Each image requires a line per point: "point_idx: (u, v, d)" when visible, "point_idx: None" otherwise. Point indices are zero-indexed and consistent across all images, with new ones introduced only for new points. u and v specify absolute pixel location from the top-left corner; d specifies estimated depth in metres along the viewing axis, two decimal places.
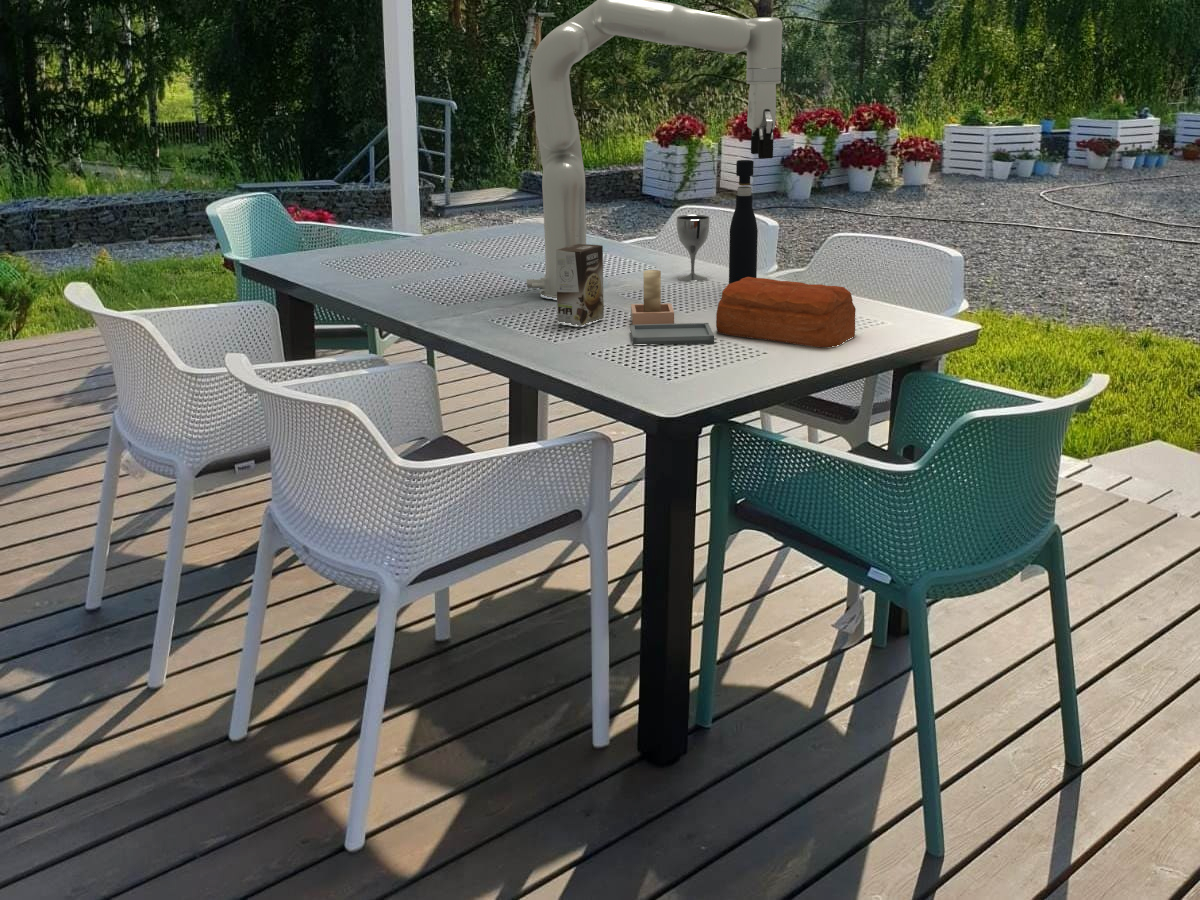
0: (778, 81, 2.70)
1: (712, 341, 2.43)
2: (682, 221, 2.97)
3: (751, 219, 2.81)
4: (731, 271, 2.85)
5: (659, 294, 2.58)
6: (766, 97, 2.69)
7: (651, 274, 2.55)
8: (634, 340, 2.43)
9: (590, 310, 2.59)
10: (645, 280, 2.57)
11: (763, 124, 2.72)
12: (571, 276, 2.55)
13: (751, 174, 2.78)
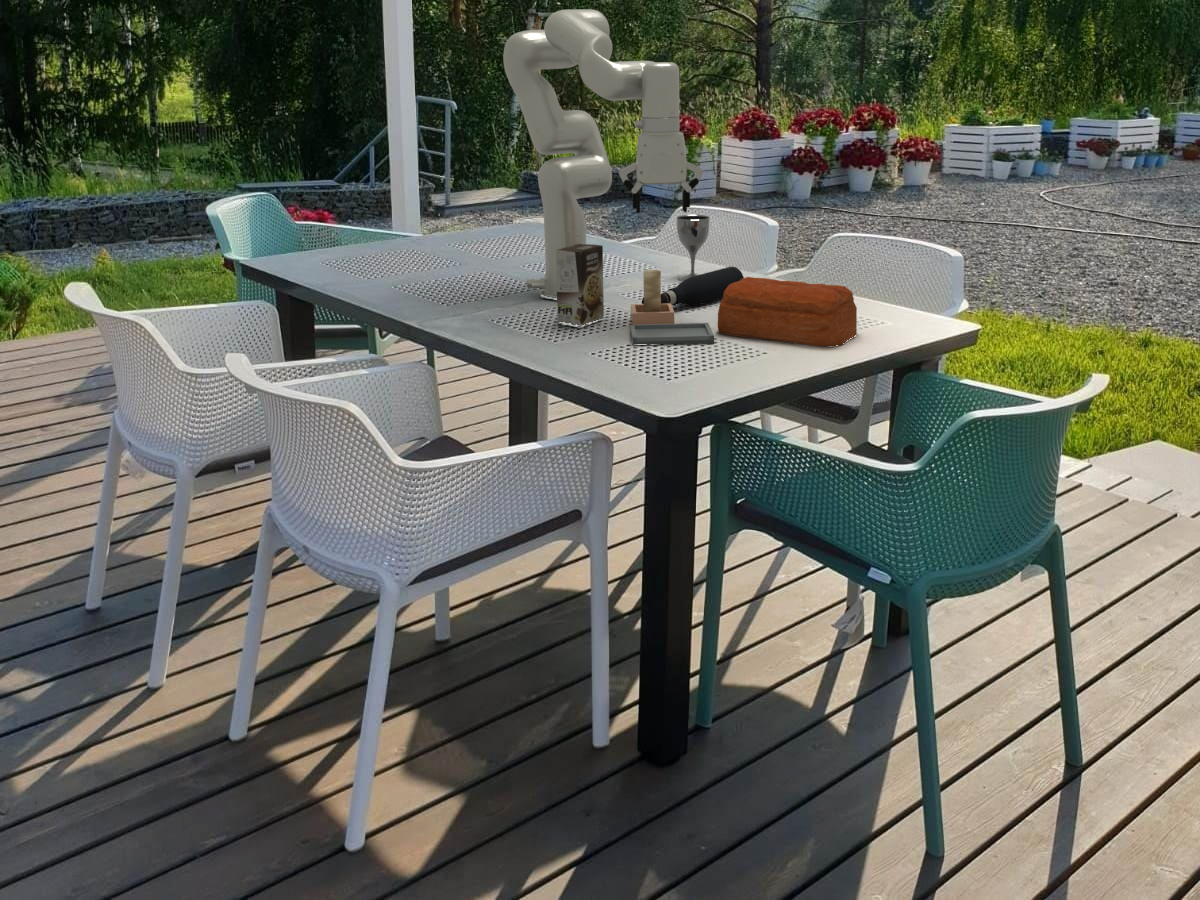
0: None
1: (712, 341, 2.43)
2: (682, 221, 2.97)
3: (695, 296, 2.72)
4: None
5: (659, 294, 2.58)
6: None
7: (651, 274, 2.55)
8: (634, 340, 2.43)
9: (590, 310, 2.59)
10: (645, 280, 2.57)
11: None
12: (571, 276, 2.55)
13: (663, 301, 2.66)
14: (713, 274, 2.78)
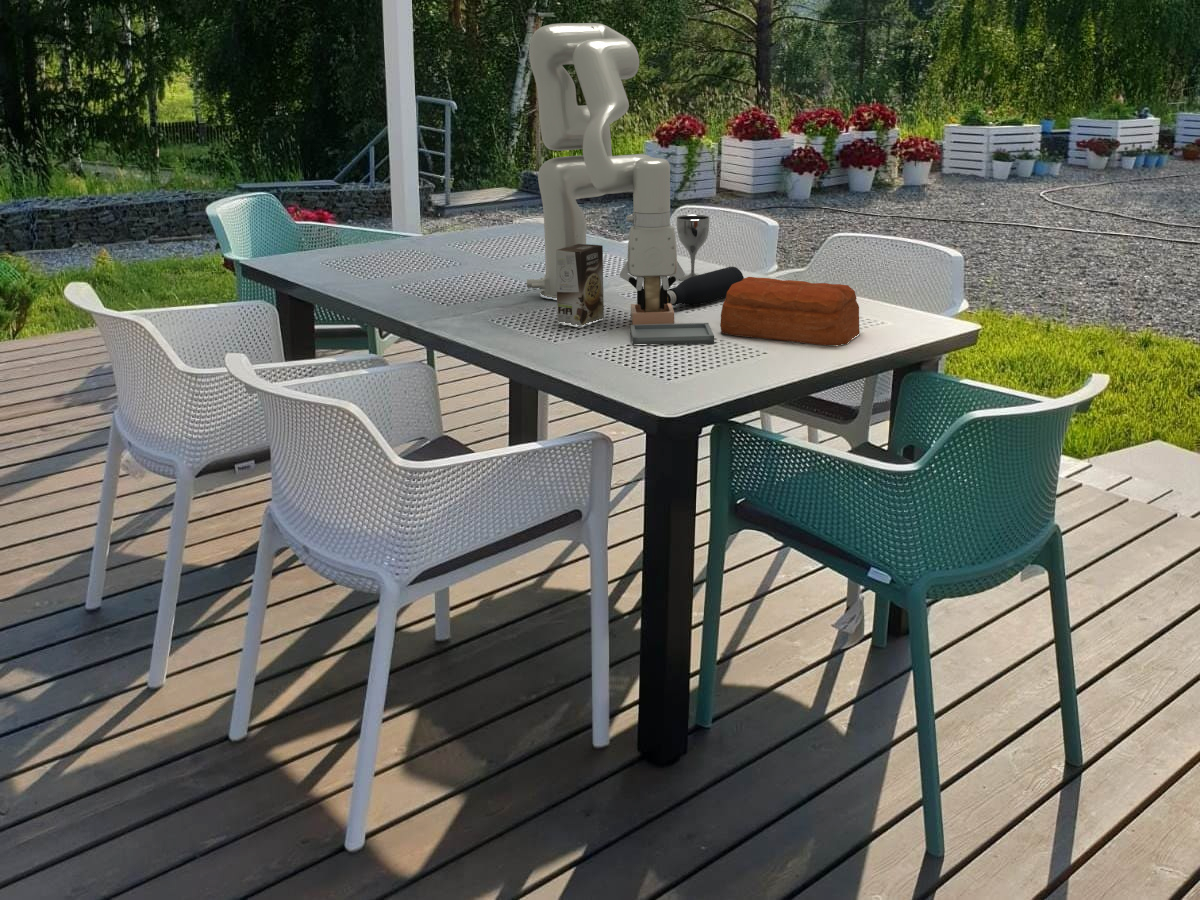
0: None
1: (712, 341, 2.43)
2: (682, 221, 2.97)
3: (695, 296, 2.72)
4: None
5: (659, 294, 2.58)
6: None
7: None
8: (634, 340, 2.43)
9: (590, 310, 2.59)
10: (645, 280, 2.57)
11: None
12: (571, 276, 2.55)
13: None
14: (713, 274, 2.78)
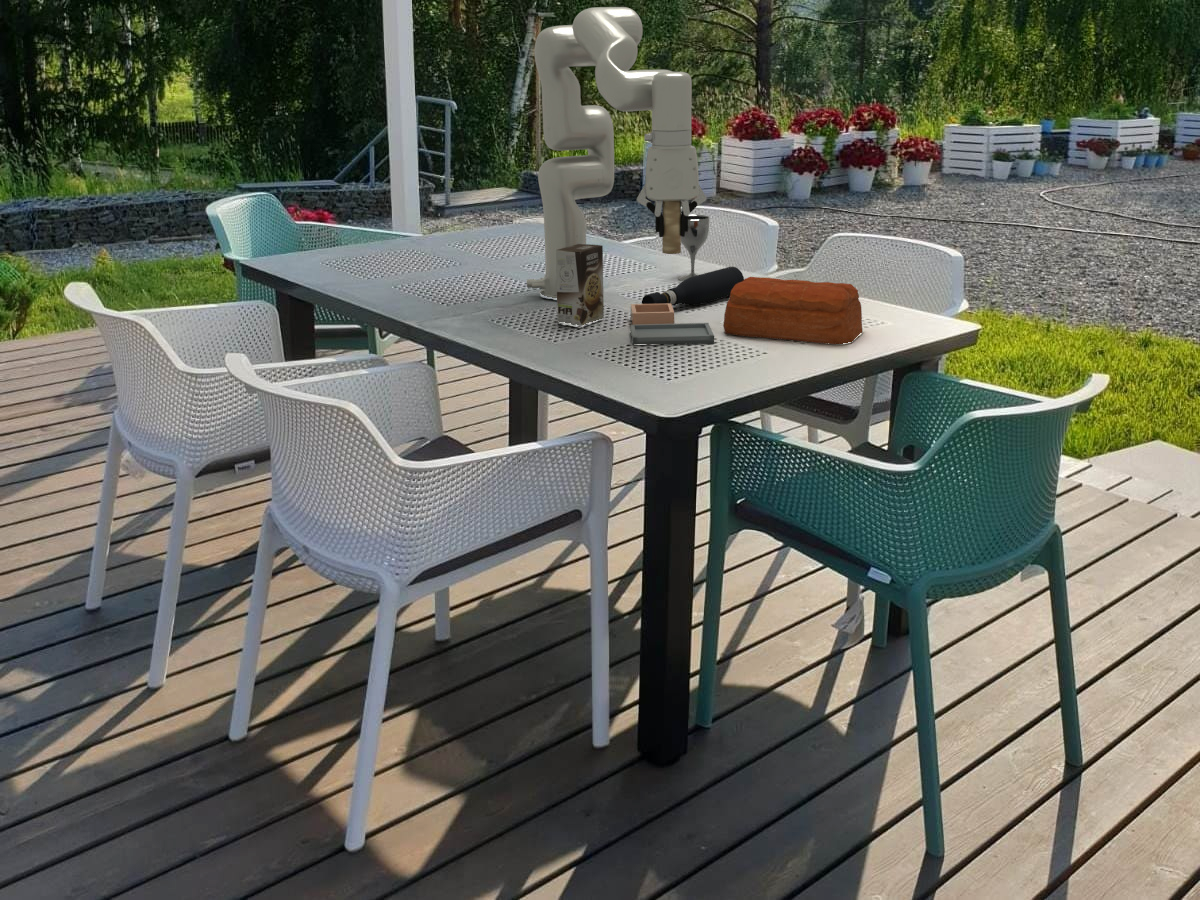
0: None
1: (712, 341, 2.43)
2: None
3: (695, 296, 2.72)
4: None
5: (679, 220, 2.40)
6: None
7: None
8: (634, 340, 2.43)
9: (590, 310, 2.59)
10: (664, 205, 2.39)
11: None
12: (571, 276, 2.55)
13: (663, 301, 2.66)
14: (713, 274, 2.78)
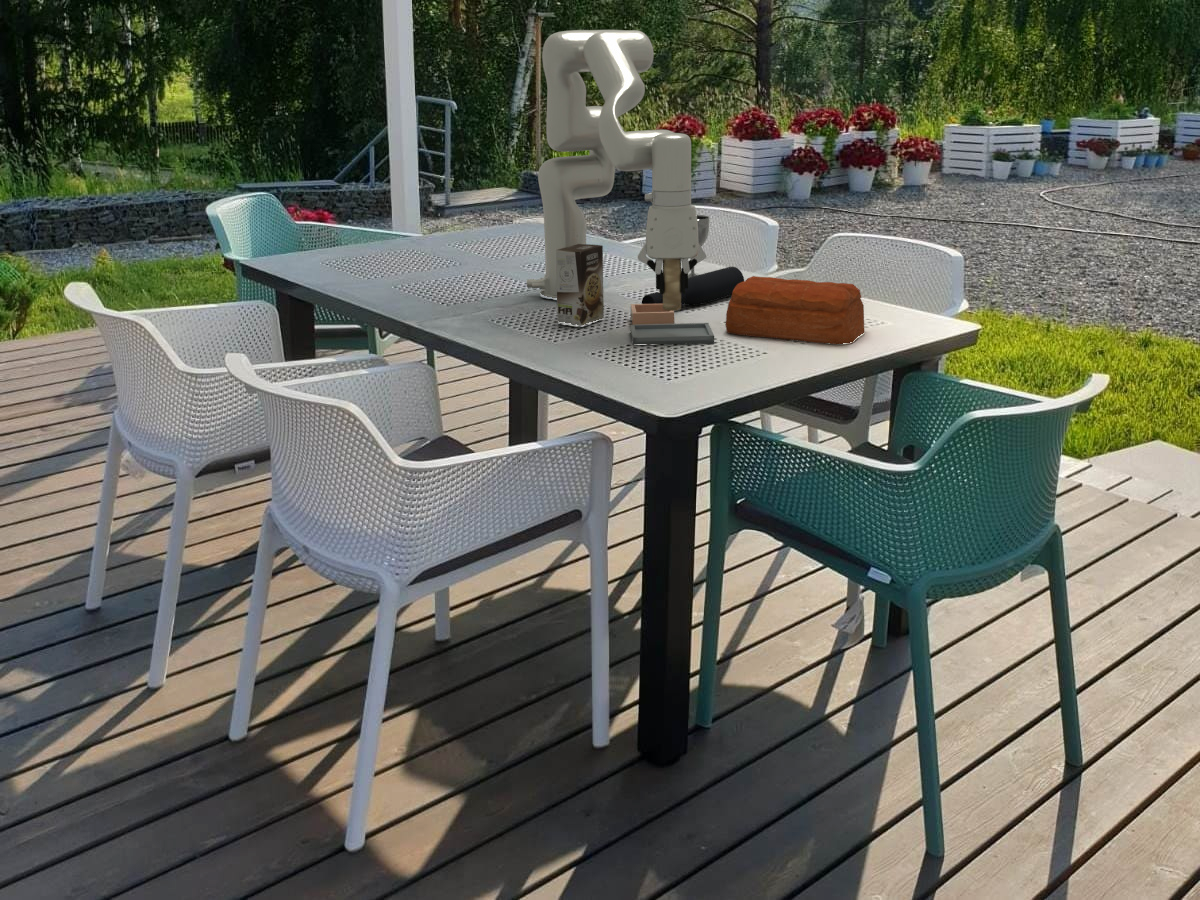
0: None
1: (712, 341, 2.43)
2: None
3: (695, 296, 2.72)
4: None
5: (679, 278, 2.43)
6: None
7: None
8: (634, 340, 2.43)
9: (590, 310, 2.59)
10: (664, 263, 2.42)
11: None
12: (571, 276, 2.55)
13: None
14: (713, 274, 2.78)
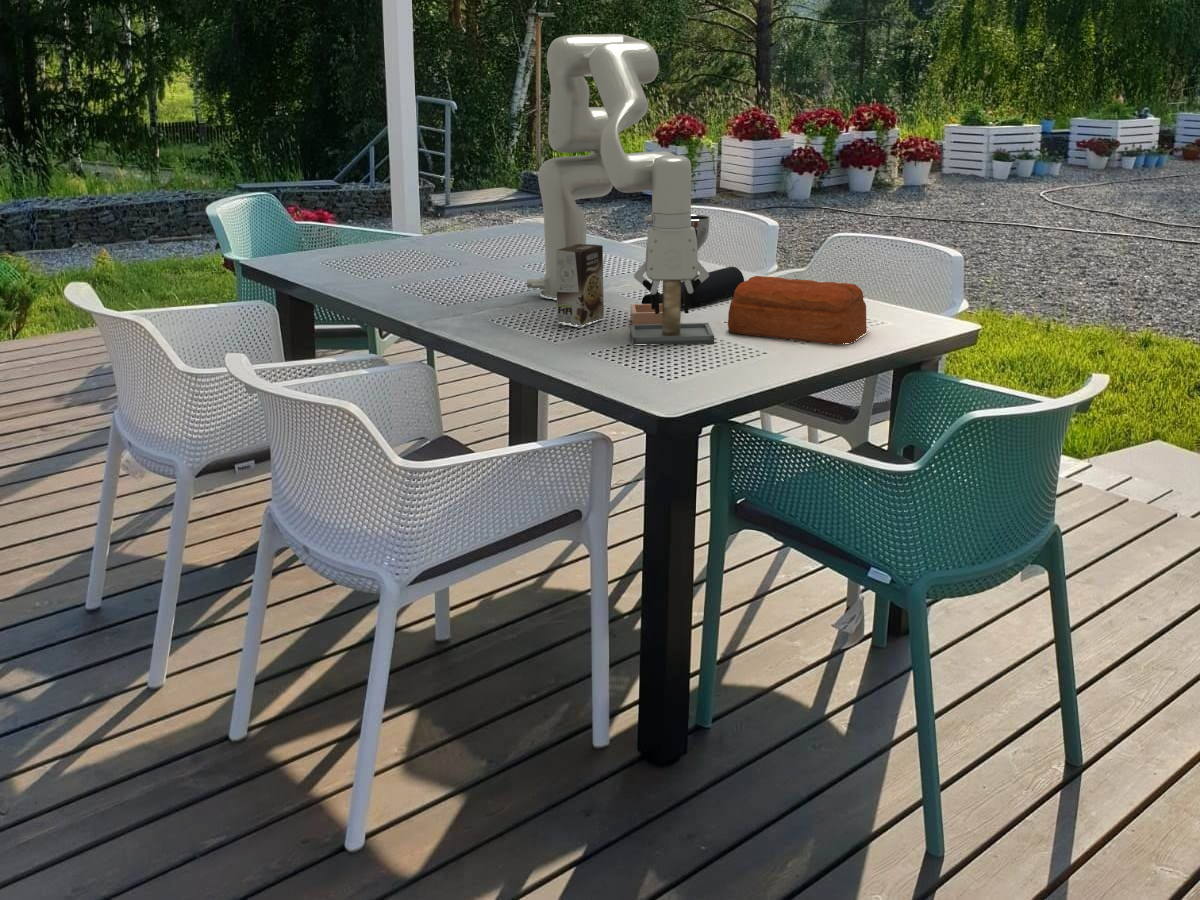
0: None
1: (712, 341, 2.43)
2: None
3: (695, 296, 2.72)
4: None
5: (679, 303, 2.45)
6: None
7: (671, 282, 2.43)
8: (634, 340, 2.43)
9: (590, 310, 2.59)
10: (665, 289, 2.44)
11: None
12: (571, 276, 2.55)
13: None
14: (713, 274, 2.78)
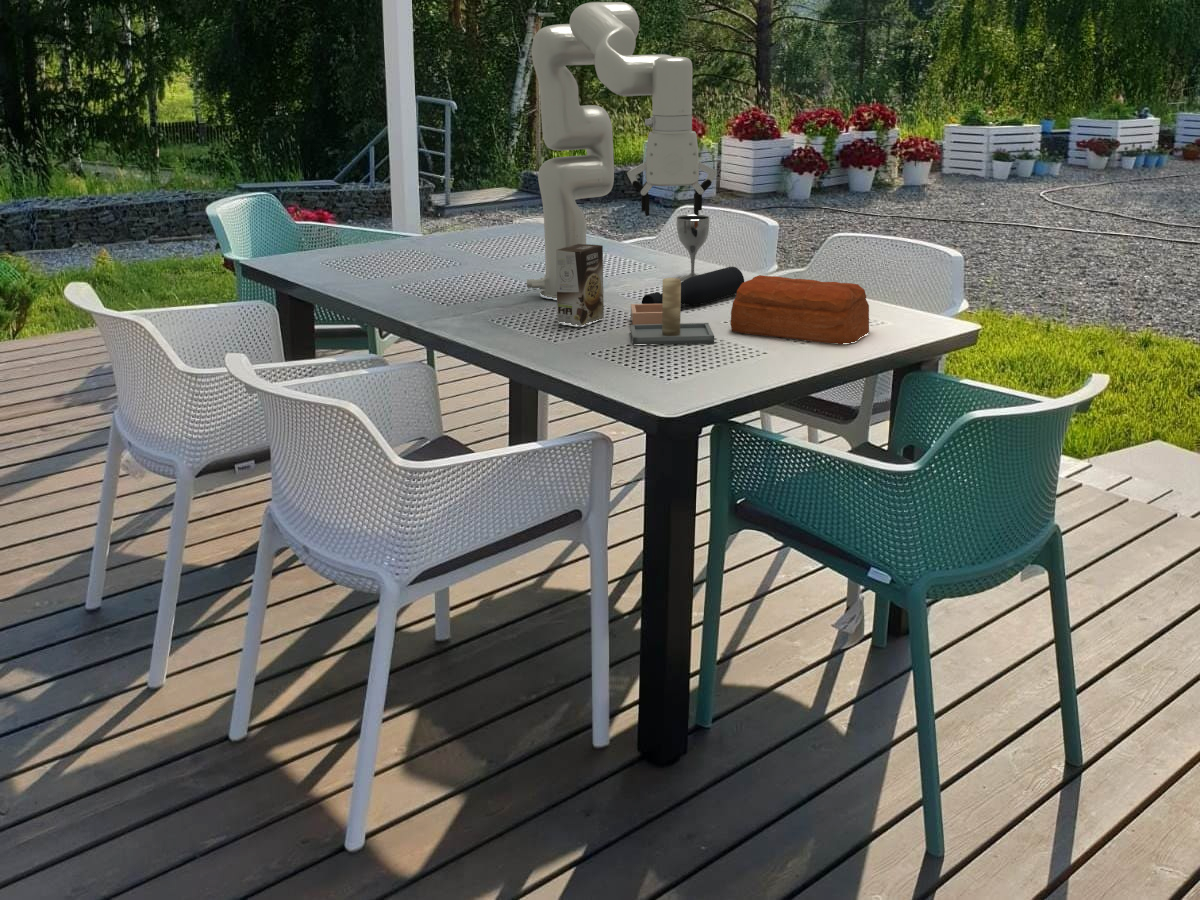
0: None
1: (712, 341, 2.43)
2: (682, 221, 2.97)
3: (695, 296, 2.72)
4: None
5: (679, 303, 2.45)
6: None
7: (671, 282, 2.43)
8: (634, 340, 2.43)
9: (590, 310, 2.59)
10: (664, 289, 2.44)
11: None
12: (571, 276, 2.55)
13: None
14: (713, 274, 2.78)
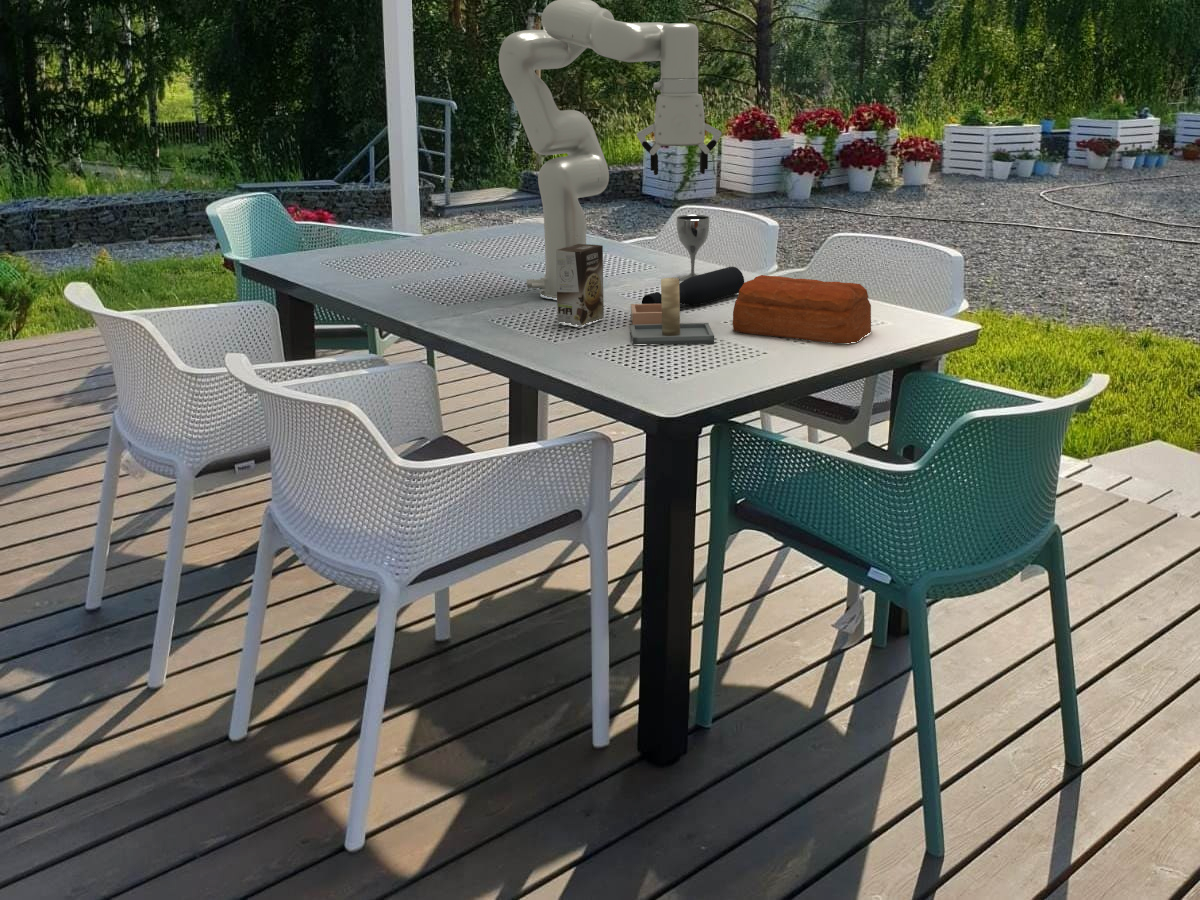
0: None
1: (712, 341, 2.43)
2: (682, 221, 2.97)
3: (695, 296, 2.72)
4: None
5: (678, 303, 2.45)
6: None
7: (669, 282, 2.43)
8: (634, 340, 2.43)
9: (590, 310, 2.59)
10: (663, 289, 2.44)
11: None
12: (571, 276, 2.55)
13: None
14: (713, 274, 2.78)
